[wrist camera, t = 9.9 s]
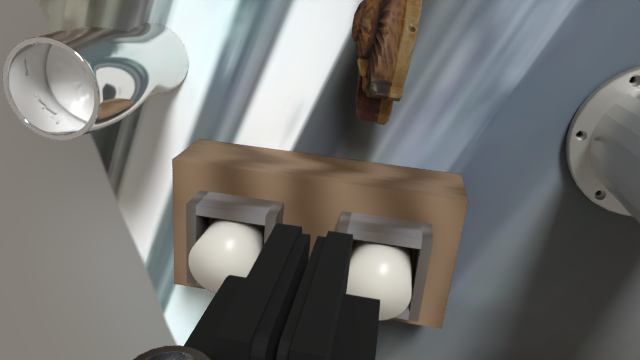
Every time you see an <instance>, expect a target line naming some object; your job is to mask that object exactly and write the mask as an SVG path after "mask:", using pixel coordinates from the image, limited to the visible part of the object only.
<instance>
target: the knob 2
mask: <svg viewBox="0 0 640 360" xmlns="http://www.w3.org/2000/svg"><path fill="white" fill-rule="evenodd" d="M346 294H350V295H356V296H362V297H368V298H374V299H380V311H379V320H387V319H391V318H394V317H396V316H398V315H399V314H401V313H402V312H403V311H404V310H405V309H406V308H407V306H408V305H409V302H410V300H411V294H412V288H411V253H410V250H409V248H408V247H403V246H396V245H389V244H383V243H376V242H370V241H363V240H356V242H355V243H354V245H353V246H352V251H351V259H350V267H349V276H348V284H347V292H346Z"/></svg>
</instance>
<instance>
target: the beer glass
mask: <svg viewBox="0 0 640 360" xmlns="http://www.w3.org/2000/svg"><path fill="white" fill-rule="evenodd" d="M187 70H188V54H187V51H186V48H185V46H184V44H183V42H182V40H181V39H180V37H179V36H178V35H177V34H176V33H175V32H174V31H172V30H171V29H170V28H168V27H166V26H164V25H161V24H157V23H145V24H141V25H139V26H137V27H135V28H133V29H131V30H130V31H121V30H116V29H110V28H102V27H78V28H70V29H65V30H60V31H56V32H52V33H49V34H45V35H42V36H39V37H32V38H29V39H26V40H23V41H22V42H20V43H18V44H17V45H16V46H15V47H14V48H13V49H12V50H11V51H10V53H9V54H8V56H7V58H6V60H5V63H4V67H3V77H2V78H3V88H4V92H5V95H6V98H7V101H8V103H9V105H10V107H11V109H12V110H13V112H14V113H15V115H16V116H17V117H18V118H19V120H20V121H21V122H22V123H23V124H25V126H27V127H28V128H29V129H30V130H32V131H33V132H35V133H37V134H38V135H40V136H43V137H45V138H48V139H52V140H71V139H74V138H77V137H79V136H81V135H84V134H88V133H91V132H94V131H97V130H100V129H102V128H105V127H107V126H110V125H112V124H114V123H116V122H118V121H120V120H121V119H123V118H125V117H126V116H128V115H129V114H130V113H132V112H133V111H134V110H135V109H137V108H138V107H139V106H140V105H141V104H142V103H143V102H144V101H145V100H146V99H147V98H148V97H149V96H150V95H151V94H153V93H165V92H168V91H171V90H173V89H175V88H176V87H178V86H179V85H180V84H181V82H182V81H183V80H184V78H185V76H186V74H187Z"/></svg>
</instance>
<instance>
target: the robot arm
mask: <svg viewBox="0 0 640 360" xmlns="http://www.w3.org/2000/svg"><path fill="white" fill-rule="evenodd" d="M633 76H634V80H633V81H632V82H629V80H630V78H631V77H633ZM579 131H581V134H580V135H579V136H576V134H577V132H579ZM566 159H567V165H568V168H569V171H570V174H571V176H572V178H573V179H574V181H575V182H576V184H577V186H578V187H579V188H580V189H581V191H582V192H583V193H584V194H585V195H586V196H587V197H588V198H589V199H590V200H591V201H593V202H594V203H595V204H597V205H599V206H601V207H603V208H604V209H606V210H608V211H611V212H614V213H618V214H621V215H626V216H633V217H634V218H635V219H636V220H637V221H638V222H639V224H640V66H638V67H634V68H631V69H629V70H627V71H624V72H622V73H619V74H617V75H615V76H614V77H612V78H611V79H609V80H607V81H606V82H604V83H603V84H601V85H600V86H599V87H598V88H597V89H596V90H594V91H593V92H592V93H591V94H590V95H589V96H588V97H587V98H586V100H585V101H584V102H583V103H582V105H581V106H580V107H579V109H578V111H577V112H576V114H575V116H574V118H573V120H572V122H571V125H570V128H569V131H568V134H567V140H566ZM599 190H600V192H599V193H597V194H595V193H596V192H597V191H599ZM352 243H353V234H347V233H340V232H334V231H328V233H327V236H326V237H323V236H317V238H316V241H315V244H314V247H313V249H312V252H311V255H310V258H309V251H310V234H303V233H302V227H301V226H294V225H287V224H281V223H276V224H275V226H274V228H273V230H272V232H271V234H270V235H269V237H268V239H267V241H266V243H265V244H264V246H263V248H262V250H261V252H260V254H259V255H258V257H257V259H256V261H255V263H254V264H253V266H252V268H251V270H250V272H249V274H248V275H247V277H240V276H234V275H228V276H227V277H226V279H225V280H224V282H223V283H222V285H221V286H220V288H219V290H218V291H217V293H216V294H215V296H214V298H213V299H212V301H211V303H210V304H209V306H208V307H207V309H206V311H205V312H204V314H203V316H202V317H201V319H200V320H199V322H198V324H197V325H196V327H195V329H194V330H193V332H192V333H191V335H190V337H189V338H188V340H187V341H186V343H185V345H184V346H180V345H178V346H163V347H159V348H155V349H151V350H149V351H147V352H145V353H143V354H140V355H138V356H137V357H136V358H135V359H133V360H375V355H376V344H377V333H378V322H379V311H380V299H374V298H368V297H362V296H356V295H350V294H346V292H347V284H348V276H349V267H350V259H351V251H352Z"/></svg>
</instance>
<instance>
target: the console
mask: <svg viewBox="0 0 640 360" xmlns="http://www.w3.org/2000/svg"><path fill="white" fill-rule="evenodd" d="M172 167H173V227H174V284H179V285H185V286H191V287H197V288H203V289H206V288H204V287H203V286H201V285H200V284H199V283H198V282H197V281H196V280H195V278H194V277H193V275H192V273H191V271H190V268H189V261H188V260H189V254H190V251H191V249H192V247H193V246H194V245H195V244H196V242H197V241H198V240H199V239H200V237H201V236H202V235H203V234H204V232H205V231H206V230H207V229H208V228H209V226H210V225H211V224H212V223H213V221H214V220H215V219H216V218H218V219H225V220H232V221H238V222H245V223H251V224H258V225H264V226H265V234H264V244H265V243H266V241H267V239H268V237H269V235H270V234H271V232H272V230H273V228H274V226H275V224H276V223H281V224H287V225H294V226H301V227H302V233H303V234H310V251H309V258H310V255H311V252H312V249H313V247H314V244H315V241H316V238H317V236H323V237H326V236H327V233H328V231H334V232H340V233H347V234H353V243H352V246H353V245H354V243H355V242H356V240H363V241H370V242H376V243H383V244H389V245H396V246H403V247H408V248H409V250H410V253H411V288H412V294H411V300H410V302H409V305H408V306H407V308H406V309H405V310H404V311H403V312H402V313H401V314H399V315H398V316H396V317H394V318H391V319H387V320H392V321H398V322H404V323H410V324H416V325H422V326H428V327H434V328H440V329H442V324H443V319H444V314H445V309H446V305H447V300H448V295H449V290H450V285H451V281H452V276H453V271H454V266H455V261H456V257H457V252H458V247H459V242H460V237H461V233H462V228H463V223H464V218H465V213H466V209H467V204H468V198H467V195H466V191H465V187H464V183H463V180H462V176H461V174H454V173H447V172H439V171H432V170H425V169H417V168H410V167H402V166H395V165H387V164H380V163H373V162H365V161H358V160H350V159H343V158H335V157H328V156H321V155H313V154H306V153H298V152H291V151H283V150H276V149H269V148H261V147H254V146H246V145H239V144H231V143H224V142H217V141H209V140H202V139H199V140H197V141H196V142H195V143H193V144H192V145H191V146H189V147H188V148H187V149H186V150H184V151H183V152H182V153H180V154H179V155H178V156H176V157H175V158H174V159H172Z"/></svg>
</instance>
